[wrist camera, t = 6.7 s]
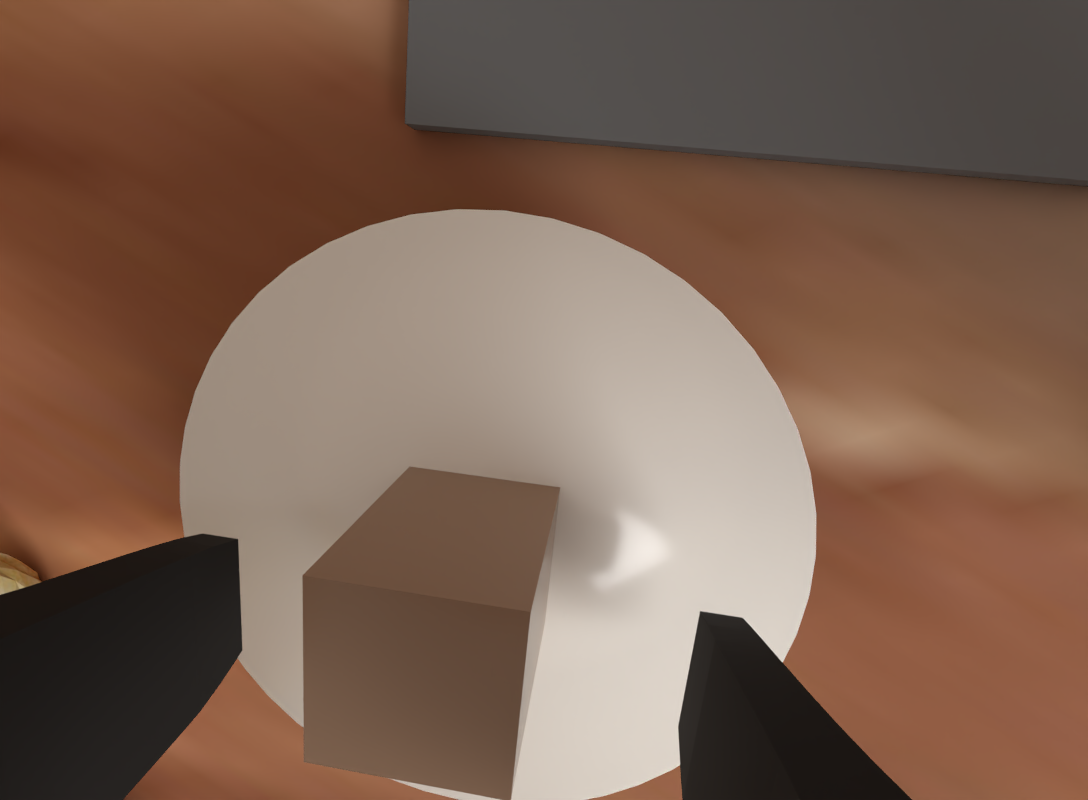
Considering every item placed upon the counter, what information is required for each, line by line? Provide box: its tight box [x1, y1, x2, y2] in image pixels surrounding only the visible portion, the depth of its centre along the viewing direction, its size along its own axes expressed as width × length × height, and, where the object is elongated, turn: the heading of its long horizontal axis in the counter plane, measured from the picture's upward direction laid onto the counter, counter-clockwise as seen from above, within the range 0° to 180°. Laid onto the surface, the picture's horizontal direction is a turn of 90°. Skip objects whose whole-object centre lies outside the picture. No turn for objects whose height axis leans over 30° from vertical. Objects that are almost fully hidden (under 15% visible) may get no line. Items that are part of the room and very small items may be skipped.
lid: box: [180, 209, 816, 800], centre depth 9 cm, size 11×11×4 cm
